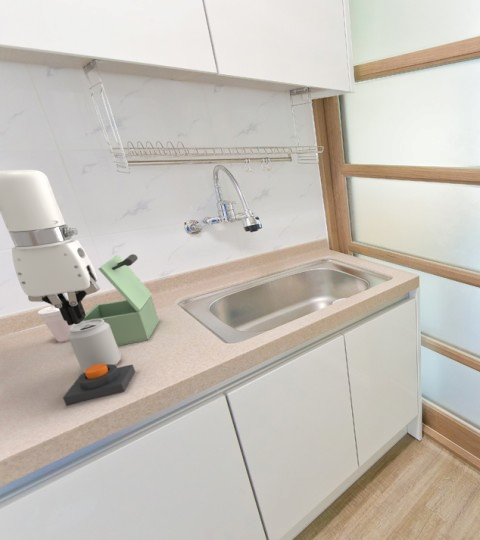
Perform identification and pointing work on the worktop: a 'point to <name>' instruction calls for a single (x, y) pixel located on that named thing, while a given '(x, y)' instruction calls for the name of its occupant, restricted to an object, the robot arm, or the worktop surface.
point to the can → (93, 343)
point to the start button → (96, 371)
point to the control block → (100, 385)
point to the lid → (126, 280)
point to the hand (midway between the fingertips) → (76, 321)
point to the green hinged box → (126, 320)
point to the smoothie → (55, 323)
